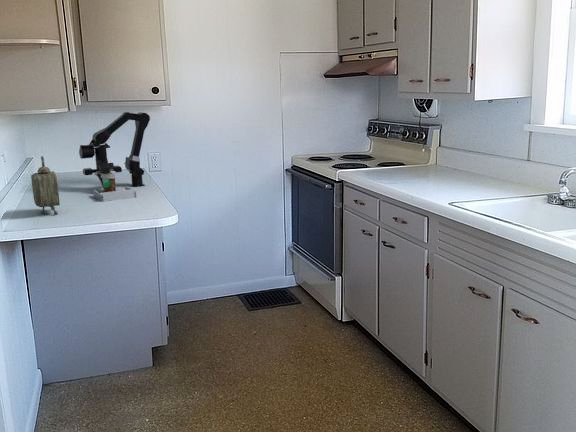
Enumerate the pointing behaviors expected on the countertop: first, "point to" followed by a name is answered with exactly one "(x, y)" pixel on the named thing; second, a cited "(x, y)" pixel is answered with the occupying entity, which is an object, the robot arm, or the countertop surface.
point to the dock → (115, 194)
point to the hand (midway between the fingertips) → (103, 186)
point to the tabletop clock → (45, 188)
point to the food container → (108, 182)
